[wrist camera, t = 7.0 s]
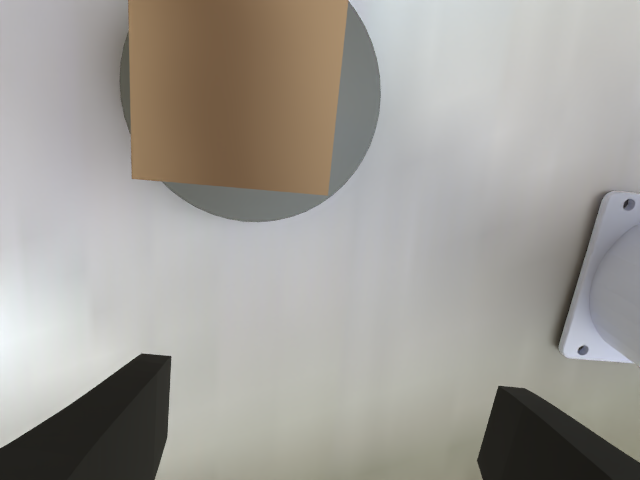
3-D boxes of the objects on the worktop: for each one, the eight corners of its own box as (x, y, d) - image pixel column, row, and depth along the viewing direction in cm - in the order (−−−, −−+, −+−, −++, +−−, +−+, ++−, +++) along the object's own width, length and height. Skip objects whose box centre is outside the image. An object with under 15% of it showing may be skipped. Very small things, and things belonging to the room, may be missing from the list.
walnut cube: (332, 20, 15) (349, -18, 10) (318, 169, 17) (328, 195, 12) (181, 2, 15) (127, -46, 10) (179, 156, 16) (131, 178, 11)
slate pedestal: (387, -14, 17) (399, -29, 15) (354, 220, 19) (361, 232, 17) (139, -51, 16) (118, -71, 14) (138, 198, 19) (120, 209, 17)
